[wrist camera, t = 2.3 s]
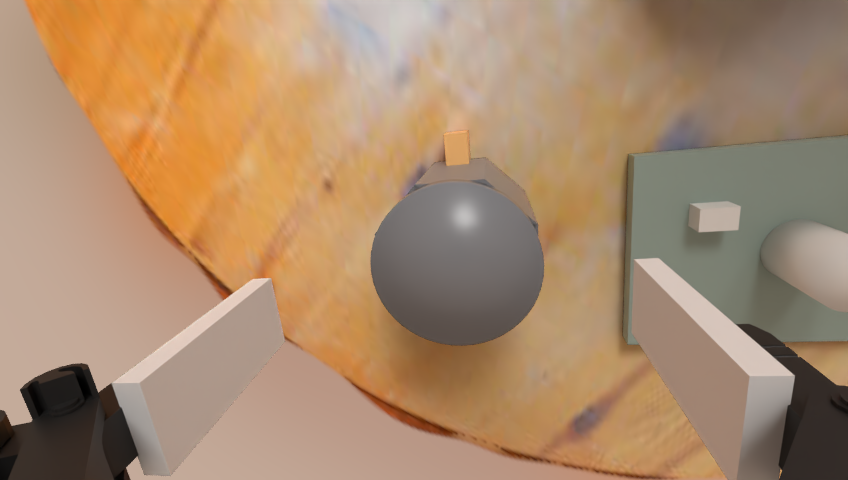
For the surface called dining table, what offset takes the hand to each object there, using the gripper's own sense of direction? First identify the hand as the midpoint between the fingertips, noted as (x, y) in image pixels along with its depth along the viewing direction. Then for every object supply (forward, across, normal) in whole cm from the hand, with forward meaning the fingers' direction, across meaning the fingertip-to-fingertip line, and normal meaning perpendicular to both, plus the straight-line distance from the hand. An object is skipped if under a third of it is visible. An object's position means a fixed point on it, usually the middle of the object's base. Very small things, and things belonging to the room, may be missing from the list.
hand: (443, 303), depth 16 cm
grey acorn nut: (+11, 0, 0) cm, 11 cm away
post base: (+10, +17, -2) cm, 20 cm away
